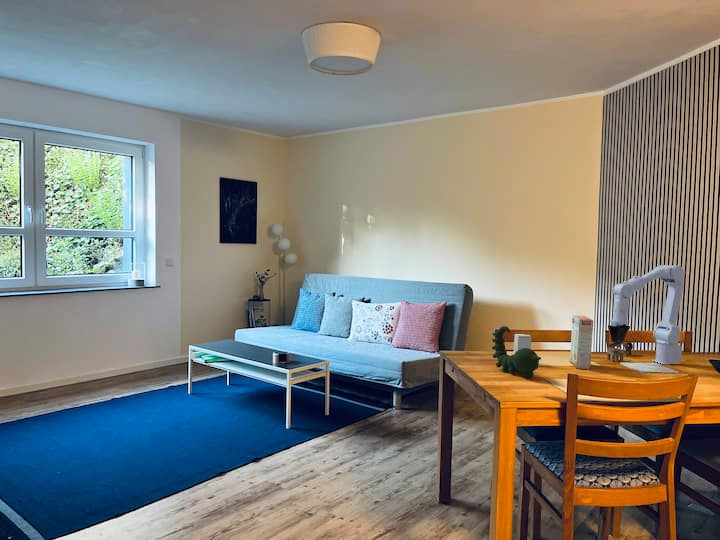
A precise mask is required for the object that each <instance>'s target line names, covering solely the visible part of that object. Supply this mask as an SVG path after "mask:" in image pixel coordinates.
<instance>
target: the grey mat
mask: <svg viewBox="0 0 720 540" xmlns="http://www.w3.org/2000/svg"><path fill="white" fill-rule="evenodd" d="M619 364H620V365H622V366H624V367H626V368H629V369H632V370H634V371H637V372H639V373H647V374H649V373H650V372H662V373H661V374H680V371H677V370H675V369H672V368H669V367H667V366H663V365H662V364H660V363H657V362H620V361H619ZM674 372H675V373H674Z"/></svg>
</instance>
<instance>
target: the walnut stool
mask: <svg viewBox="0 0 720 540" xmlns="http://www.w3.org/2000/svg"><path fill="white" fill-rule="evenodd" d="M606 352H607V353H606V354H607V355H606V360H608V361H611V362H612V363H615V362H616V361H619V363H620V362H622V363H624V354H625V351H624V349H622V348H621V347H614V348H609V347H607V351H606Z"/></svg>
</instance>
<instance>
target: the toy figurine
mask: <svg viewBox="0 0 720 540" xmlns="http://www.w3.org/2000/svg"><path fill="white" fill-rule="evenodd" d="M506 332H507V333H508V334H510V333H511V329H510V328H509V327H508V326H507V325H503V326H501V327H499V328H498V330H496V331H494V332H493V333H492V336H493V337H494V338H492V340H491V341H492V342H493V343H494V344H495V345H493V346H492V347H491V348H492V350H493V351H495V353H493V354H492V358H493V359H497V363H495V366H496V367H497V368H501V367H502V368H501V371H502V373H506V372H508V373H510V374H511V375H513V374H515V373H518V372H519V373H521V374H522V376H523V378H526V379H531V378H533V376H534V371H536V370H538V369H539V365H540V360H541V359H542V357H541V356H538V354H537V353H536V351H535V350H533V349H532V348H531V349H529V348H522V349H519V350H518V351H517V352H516V353H515V354H514V353H513V354H511V355H509V354H508V351H507V350H506V345H505V338H504V333H506Z"/></svg>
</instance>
